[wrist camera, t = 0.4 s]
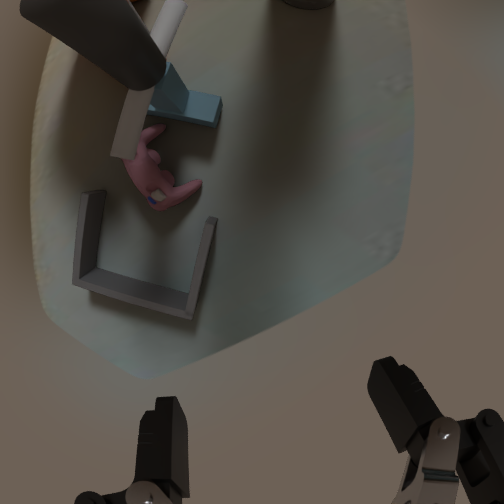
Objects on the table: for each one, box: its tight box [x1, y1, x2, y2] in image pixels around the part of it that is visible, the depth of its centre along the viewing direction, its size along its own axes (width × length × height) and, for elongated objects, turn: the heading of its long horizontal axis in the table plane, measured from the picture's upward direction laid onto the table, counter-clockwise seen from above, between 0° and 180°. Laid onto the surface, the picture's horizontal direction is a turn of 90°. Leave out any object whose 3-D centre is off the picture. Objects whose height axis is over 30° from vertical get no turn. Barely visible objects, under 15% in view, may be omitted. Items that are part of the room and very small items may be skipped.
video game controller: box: [121, 123, 202, 211], centre depth 32 cm, size 10×5×7 cm, turn 32°
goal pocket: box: [72, 190, 218, 320], centre depth 34 cm, size 12×16×5 cm
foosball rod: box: [20, 0, 223, 160], centre depth 19 cm, size 14×10×28 cm
